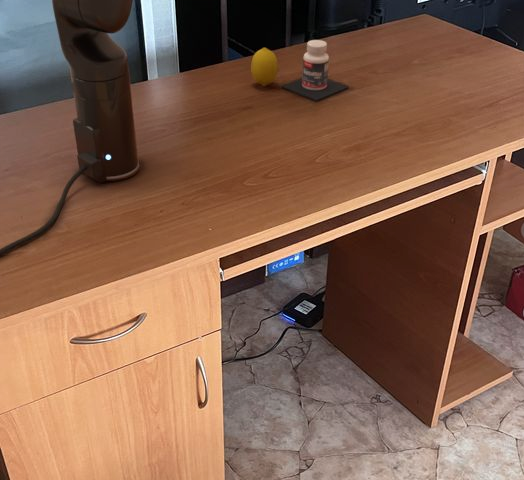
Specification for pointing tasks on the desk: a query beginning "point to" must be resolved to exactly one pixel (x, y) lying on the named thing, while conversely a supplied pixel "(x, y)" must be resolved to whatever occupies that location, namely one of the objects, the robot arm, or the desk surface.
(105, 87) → the robot arm
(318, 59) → the pill bottle
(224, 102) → the desk surface
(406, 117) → the desk surface
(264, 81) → the lemon
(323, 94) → the coaster
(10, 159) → the desk surface
